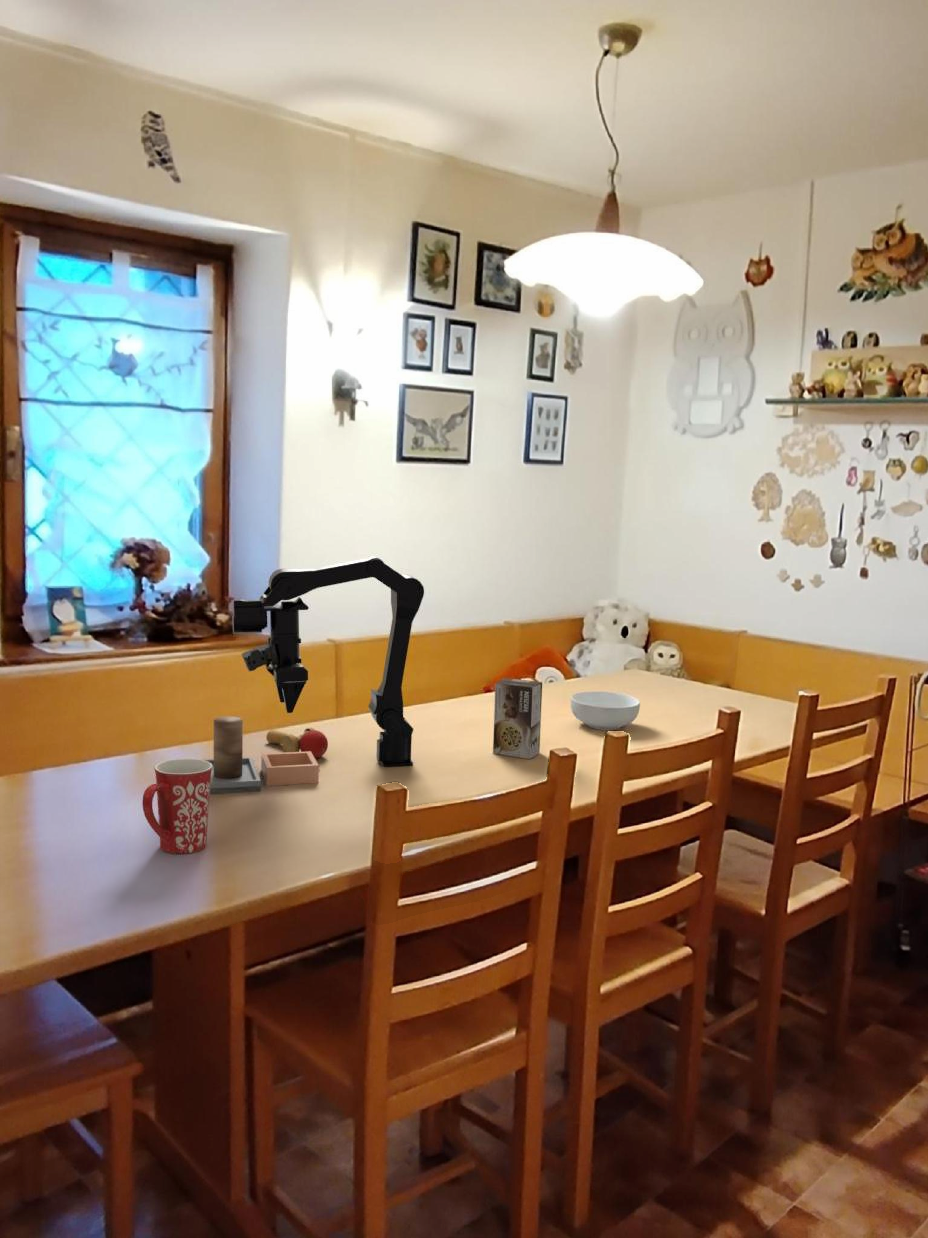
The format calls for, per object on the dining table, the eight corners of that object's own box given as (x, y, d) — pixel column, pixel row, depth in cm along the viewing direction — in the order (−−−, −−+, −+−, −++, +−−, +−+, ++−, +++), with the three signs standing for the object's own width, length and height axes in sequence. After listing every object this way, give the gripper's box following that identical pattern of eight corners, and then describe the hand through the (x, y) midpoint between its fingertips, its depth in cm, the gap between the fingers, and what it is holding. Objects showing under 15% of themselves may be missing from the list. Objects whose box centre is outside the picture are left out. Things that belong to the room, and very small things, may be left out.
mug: (184, 832, 174) (184, 754, 172) (224, 844, 169) (224, 764, 167) (124, 854, 163) (123, 772, 161) (164, 868, 158) (164, 783, 156)
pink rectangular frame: (310, 767, 212) (310, 751, 212) (318, 782, 203) (318, 765, 202) (261, 770, 209) (261, 753, 209) (266, 785, 200) (267, 768, 199)
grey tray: (252, 766, 211) (252, 757, 211) (260, 790, 196) (260, 780, 196) (196, 769, 208) (196, 759, 208) (201, 794, 193) (201, 784, 193)
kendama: (255, 752, 227) (306, 759, 214) (257, 723, 227) (308, 729, 215) (283, 752, 232) (335, 759, 220) (285, 724, 233) (337, 729, 220)
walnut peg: (241, 770, 206) (241, 716, 204) (243, 778, 200) (243, 723, 199) (212, 771, 204) (212, 717, 202) (214, 779, 199) (214, 724, 197)
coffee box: (540, 752, 230) (544, 681, 227) (529, 760, 224) (533, 687, 221) (502, 746, 233) (505, 676, 231) (491, 753, 228) (494, 681, 225)
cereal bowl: (560, 729, 251) (562, 701, 250) (579, 715, 266) (581, 688, 265) (629, 738, 245) (631, 709, 244) (644, 723, 260) (646, 695, 259)
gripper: (239, 626, 214) (240, 699, 217) (249, 641, 197) (251, 721, 199) (292, 624, 218) (294, 696, 220) (308, 639, 200) (309, 717, 203)
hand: (286, 707), depth 211 cm, fingers open, 9 cm apart
